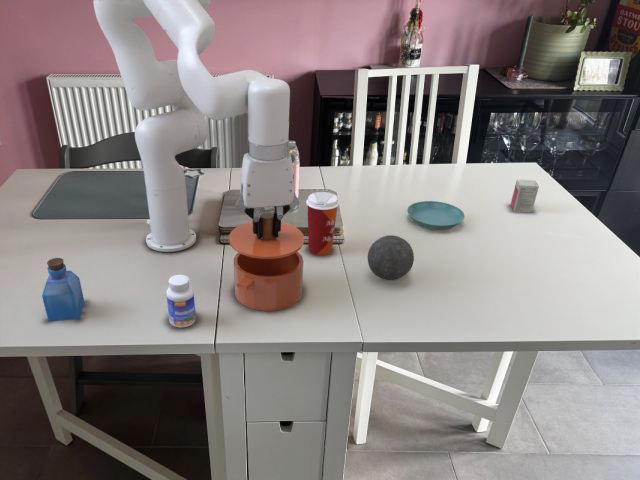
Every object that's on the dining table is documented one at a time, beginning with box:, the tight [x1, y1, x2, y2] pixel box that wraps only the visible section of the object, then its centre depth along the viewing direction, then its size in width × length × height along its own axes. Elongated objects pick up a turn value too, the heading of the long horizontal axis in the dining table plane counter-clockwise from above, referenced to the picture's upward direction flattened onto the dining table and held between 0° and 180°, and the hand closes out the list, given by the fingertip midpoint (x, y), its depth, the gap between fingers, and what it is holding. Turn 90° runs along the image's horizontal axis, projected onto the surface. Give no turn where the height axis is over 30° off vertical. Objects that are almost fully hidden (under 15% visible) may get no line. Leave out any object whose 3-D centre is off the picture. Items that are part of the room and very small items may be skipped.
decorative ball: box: [367, 234, 415, 281], centre depth 126 cm, size 10×10×10 cm
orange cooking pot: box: [233, 251, 304, 312], centre depth 122 cm, size 15×20×8 cm
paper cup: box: [305, 191, 340, 257], centre depth 136 cm, size 8×8×14 cm
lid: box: [228, 211, 305, 259], centre depth 116 cm, size 16×16×6 cm
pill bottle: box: [165, 274, 197, 328], centre depth 113 cm, size 5×5×10 cm
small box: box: [509, 179, 540, 213], centre depth 156 cm, size 5×4×8 cm
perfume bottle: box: [41, 257, 85, 322], centre depth 115 cm, size 6×6×12 cm
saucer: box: [406, 200, 466, 231], centre depth 151 cm, size 15×15×3 cm
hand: (266, 234), depth 117 cm, fingers closed on lid, 2 cm apart
